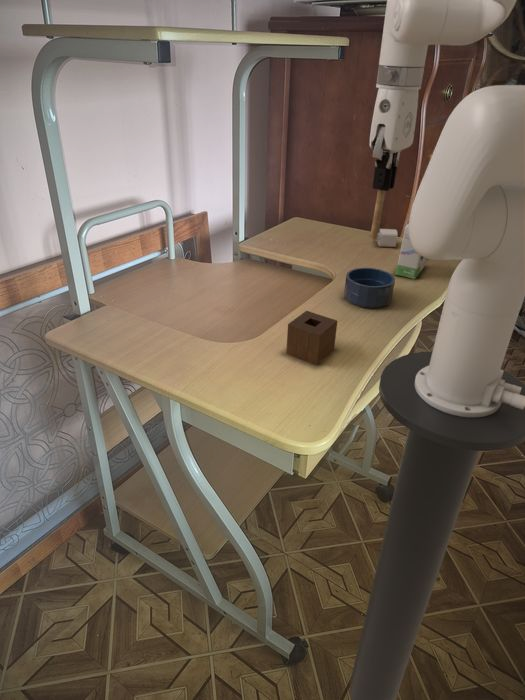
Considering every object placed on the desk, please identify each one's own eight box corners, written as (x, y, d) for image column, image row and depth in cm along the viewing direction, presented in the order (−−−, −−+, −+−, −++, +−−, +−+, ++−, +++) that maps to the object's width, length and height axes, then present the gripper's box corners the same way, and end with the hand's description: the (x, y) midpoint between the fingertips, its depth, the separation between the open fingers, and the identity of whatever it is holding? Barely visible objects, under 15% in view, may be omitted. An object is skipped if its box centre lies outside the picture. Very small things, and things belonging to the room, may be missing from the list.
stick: (377, 240, 101) (392, 157, 92) (374, 242, 100) (389, 158, 91) (371, 238, 101) (385, 156, 92) (368, 240, 100) (382, 157, 91)
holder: (334, 350, 89) (337, 320, 85) (317, 365, 84) (319, 335, 81) (304, 339, 92) (306, 310, 88) (286, 353, 87) (287, 323, 84)
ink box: (404, 263, 124) (413, 216, 118) (425, 267, 122) (435, 220, 116) (394, 275, 118) (403, 226, 111) (416, 280, 116) (426, 230, 109)
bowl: (398, 296, 108) (402, 275, 105) (379, 314, 101) (383, 291, 98) (356, 284, 113) (359, 264, 110) (335, 300, 105) (338, 278, 103)
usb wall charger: (395, 248, 133) (397, 233, 131) (369, 246, 134) (371, 232, 132) (393, 243, 136) (395, 228, 134) (368, 241, 137) (370, 227, 135)
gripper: (403, 82, 78) (385, 201, 87) (436, 77, 88) (416, 183, 98) (359, 79, 81) (346, 193, 91) (396, 75, 92) (381, 177, 102)
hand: (383, 187), depth 95 cm, fingers closed on stick, 1 cm apart
